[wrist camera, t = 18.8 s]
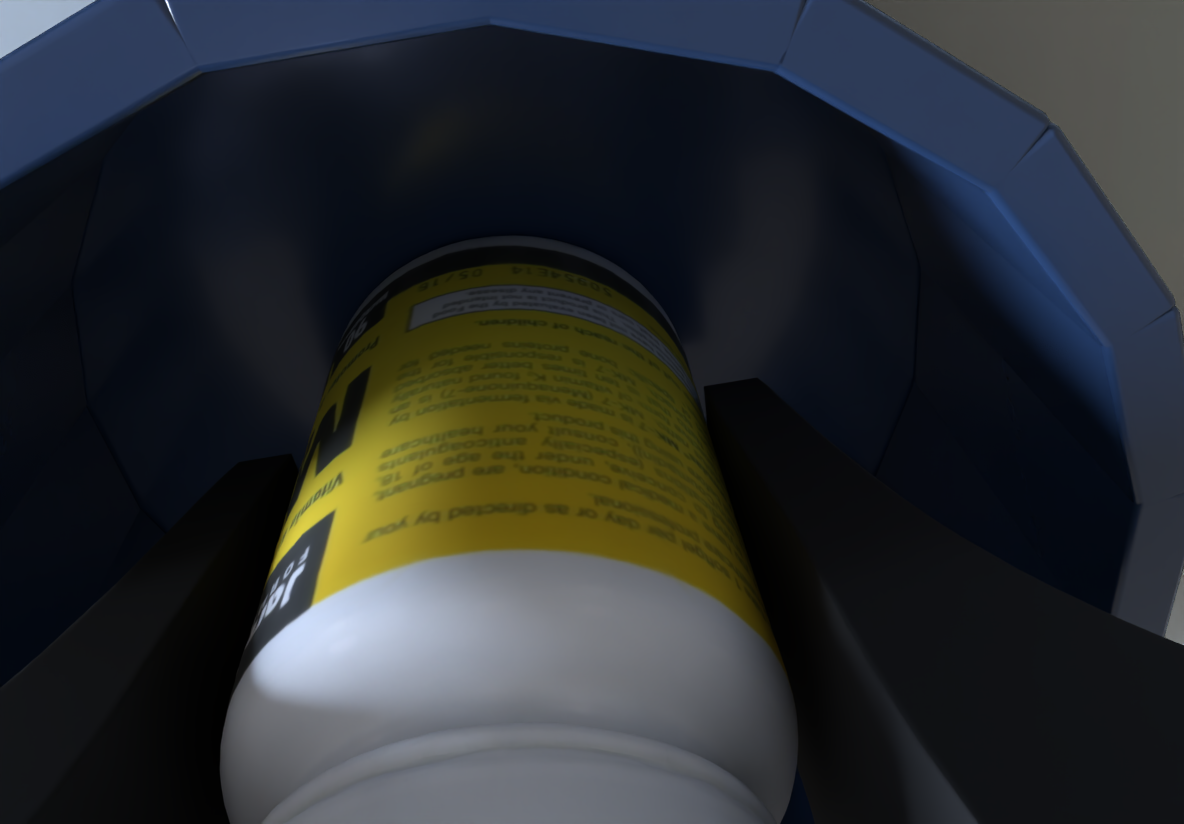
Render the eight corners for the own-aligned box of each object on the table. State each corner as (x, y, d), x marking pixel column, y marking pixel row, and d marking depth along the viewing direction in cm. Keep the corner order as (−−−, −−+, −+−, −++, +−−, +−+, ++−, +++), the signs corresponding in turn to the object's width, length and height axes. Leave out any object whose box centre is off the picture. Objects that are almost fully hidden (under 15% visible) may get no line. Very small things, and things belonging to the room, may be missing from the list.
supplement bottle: (325, 209, 11) (17, 906, 4) (712, 237, 12) (1027, 885, 5) (340, 523, 14) (168, 1285, 7) (657, 533, 14) (809, 1241, 7)
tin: (236, 726, 16) (134, 1075, 12) (-173, -25, 10) (-755, 123, 5) (924, 616, 16) (1087, 926, 12) (987, -223, 10) (1416, -248, 5)
